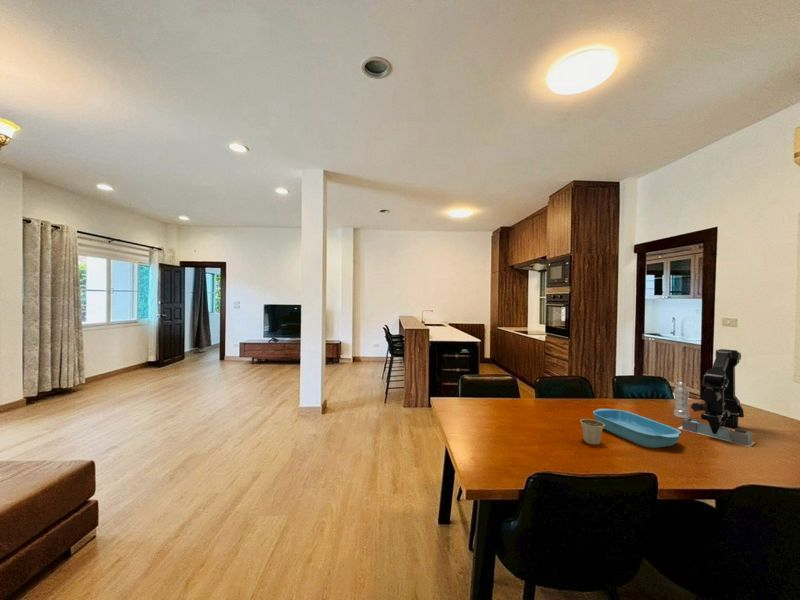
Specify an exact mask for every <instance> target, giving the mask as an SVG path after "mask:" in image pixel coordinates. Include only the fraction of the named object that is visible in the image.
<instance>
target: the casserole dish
mask: <svg viewBox="0 0 800 600" xmlns="http://www.w3.org/2000/svg"><path fill="white" fill-rule="evenodd" d="M592 414H593V417H594V420H596V421H599V422H602V423H603V424H605V426H604V428H603V430H606V431H607V432H610V433H612V434H614V435H617V436H619V437H621V438H623V439H625V440H627V441H630V442H632V443H634V444H636V445H639V446H642V447H646V448H652V449H653V448H657V449H658V448H665V447H666V446H667V447H671V446H674V445H675V444H677V442H678V441H679V439H680V437H681V434H682V432H681V431H680V429H678V428H675V427H672V426H670V425H667V424H664V423H661V422H659V421H656V420H653V419H651V418H647V417H645V416H642V415H640V414H637V413H633V412H631V411H627V410H622V409H612V408H597V409H596V410H593V411H592Z"/></svg>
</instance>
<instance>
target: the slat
mask: <svg viewBox="0 0 800 600" xmlns="http://www.w3.org/2000/svg"><path fill="white" fill-rule="evenodd" d="M691 422H695V423H697V432H700V433H704V434H708V435H712V436H716V437H720V438H724V439H728V440H730V439H731V431H732V428H729V427H724V426H722V427H720V428H719V429H718V431H717V433H716V434H713V433H712V430H711V427H710V424H709V423H704V422H702V421H701V422H697V421H691Z"/></svg>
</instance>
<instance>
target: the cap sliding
mask: <svg viewBox="0 0 800 600" xmlns="http://www.w3.org/2000/svg"><path fill="white" fill-rule="evenodd" d="M731 441H732V442H731V443H733V442H736V443H735V444H737V443H740V444H739V445H741V444H744V445H743V446H745V445H749V444H750V443H751V442H753V432H752V431H750V430H747V429H741V428H739V429H738V428H735V429H734V430H731Z"/></svg>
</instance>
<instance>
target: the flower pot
mask: <svg viewBox="0 0 800 600" xmlns="http://www.w3.org/2000/svg"><path fill="white" fill-rule="evenodd" d="M579 421H580V423H581V428H582V435H583V441H584V442H585V443H587V444H589V445H601V440H602V436H603V435H602V434H603V430H604V429H603V428H604V426H605V424H603V423H602V422H599V421H596V420H595V419H590V418H583V419H580V420H579Z"/></svg>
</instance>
